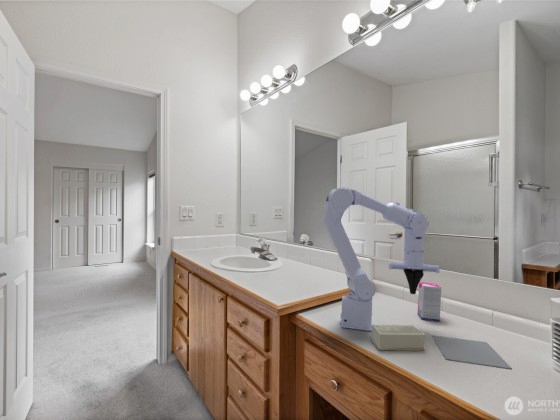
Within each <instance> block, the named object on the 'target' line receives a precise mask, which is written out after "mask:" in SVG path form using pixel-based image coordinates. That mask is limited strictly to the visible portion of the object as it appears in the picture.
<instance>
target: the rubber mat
mask: <svg viewBox="0 0 560 420" xmlns="http://www.w3.org/2000/svg"><path fill="white" fill-rule="evenodd" d="M431 337H432V338H433V340H434V342H435V344H436V346H437V347H438V350H440V353H441V354H442V356H443V357H444V359H445V361H454V362H461V363H467V364H473V365H474V364H475V365H479V366H487V367H495V368H501V369H506V370H507V369H508V370H513V368H512V367H511V365H510V364H508V362H506V361H505V359H503V357H502V356H501V355H500V354H499V353H498V352H497V351H496V350H495V349H494V348H493V347H492V346H491V345H490V344H489V343H488V342H487V341H479V340H473V339H465V338H457V337H449V336H441V335H436V334H435V335H433V334H432V335H431Z"/></svg>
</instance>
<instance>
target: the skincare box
mask: <svg viewBox="0 0 560 420" xmlns="http://www.w3.org/2000/svg"><path fill="white" fill-rule="evenodd" d="M370 332H371V334H370V335H371V336H370V337H371V339H370V340H371V342H372V343H373V344H374V346H375V347H376V348H377V349H378V350H379V351H425V339H426V338H425V333H424V332H422V331H421V330H420V329H419V328H417V327H416V326H415V325H414V324H413V325H410V324H406V325H403V324H402V325H401V324H400V325H399V324H398V325H395V324H393V325H392V324H390V325H389V324H373V325H372V331H370Z"/></svg>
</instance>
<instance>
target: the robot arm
mask: <svg viewBox="0 0 560 420" xmlns="http://www.w3.org/2000/svg"><path fill="white" fill-rule="evenodd" d="M357 205H359V206H362V207H364V208H366V209H369V210H372V211H375V212H377V213H380V214H381V215H382V217H383V219H384V220H386V221H389V222H391V223H394V224H395V225H398V226H401V227H402V228H403V229H404V244H403V245H404V246H403V247H404V248H403V249H404V250H403V262H396V261H395V262H394V261H393V262H391V261H389V262H388V269H389V270H402V271H403V273H404V275H405V277H406V279H407V284H408V289H409V294H411V295H416V293H417V289H418V288H419V282H421V280H422V278H423V277H424V274H425V273H424V272H427V273H432V272H433V273H437V274H440V271H441V270H440V266H439V265H434V264H427V263H424V262H425V259H424V258H425V257H424V256H425V235H426V230H427V229H428V228H429V225H430V222H429V221H428V218H427V217H426V215H425V214H424V213H420V212H415V211H414V209H412V208H406V207H404V206H403V205H401V203H400V202H398V201H397V202H396V201H394V202H389V203H385V202H382V201H380V200H378V199H376V198H374V197H372V196H369V195H367V194H366V193H363V192H362V191H358V190H356V189H352V188H351V189H350V188H349V187H346V186H341V187H340V186H339V187H338V188H334V189H331V190H330V191H329V192H328V193H327V195H326V196H325V199H324V209H323V214H322V215H323V216H322V221H323V224H324V226H325V228H326V230H327V232H328V234H329V237H330V239H331V241H332V243H333V245H334V248H335V251H336V252H337V254H338V256H339V257H338V258H339V259H340V261H341V263H342V266H343V268H344V271H345V276H346V284H347V288H349V292H348V295H345V294H344V295H342V297H341V298H342V299H341V313H340V320H341V323H340V324H341V325H340V327H341V328H343V329H344V328H345V329H351V330H352V329H353V330H360V331H367V332H371V331H372V325H374V324H373V323H374V322H373V320H372V319H373V317H372V315H373V297H374V296H375V294H376V285H375V282H373V281H372V280H370V279H369V277H368V276H367V275H368V274H366V272H365V270H364V269H363V267H362V266H361V264H360V261H359V259H358V257H357V255H356V253H355V250H354V248H353V245H352V244H351V241H350V238H349V237H348V234H347V232H346V230H345V228H344V226H343V223H342V221H341V220H342V217H343V216H344V213H345V212H346V210H347V209H348V208H350V207H351V206H357Z"/></svg>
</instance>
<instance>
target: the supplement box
mask: <svg viewBox="0 0 560 420" xmlns="http://www.w3.org/2000/svg"><path fill="white" fill-rule="evenodd" d="M417 297H418V300H417V315H418V316H419V318H420V319H421V320H423V321H432V320H433V321H432V322H441V307H442V306H441V303H442V302H441V301H442V287H441V286H440V285H438V284H437V283H434V282H433V283H432V282H422V281H420V282H419V284H418V296H417Z"/></svg>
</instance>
